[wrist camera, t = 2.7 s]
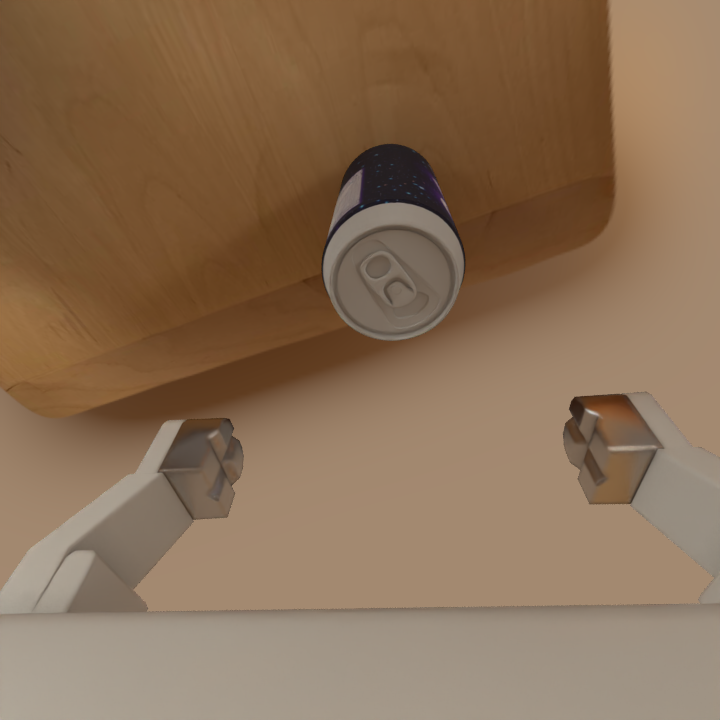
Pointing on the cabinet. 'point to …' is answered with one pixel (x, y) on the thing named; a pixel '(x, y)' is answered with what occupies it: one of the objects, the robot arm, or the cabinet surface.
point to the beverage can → (392, 247)
